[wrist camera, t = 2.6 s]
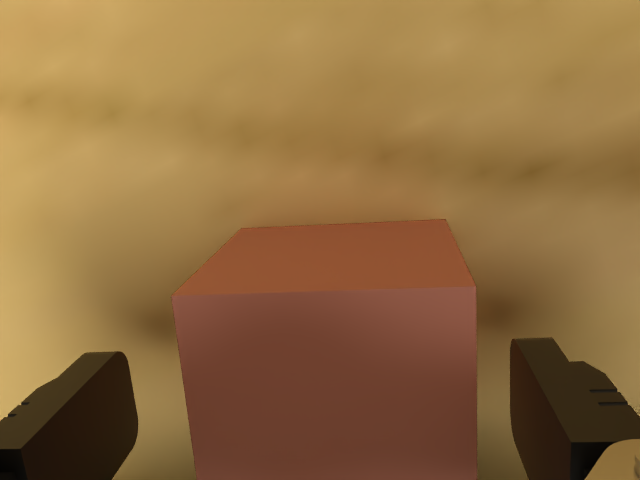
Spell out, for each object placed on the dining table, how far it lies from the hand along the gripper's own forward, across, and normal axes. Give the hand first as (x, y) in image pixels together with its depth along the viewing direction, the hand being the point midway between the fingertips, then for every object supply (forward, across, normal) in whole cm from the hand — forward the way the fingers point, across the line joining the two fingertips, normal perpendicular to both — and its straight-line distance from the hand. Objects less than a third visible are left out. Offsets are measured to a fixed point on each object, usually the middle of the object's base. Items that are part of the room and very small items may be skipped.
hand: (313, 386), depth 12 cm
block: (+3, -1, 0) cm, 3 cm away
